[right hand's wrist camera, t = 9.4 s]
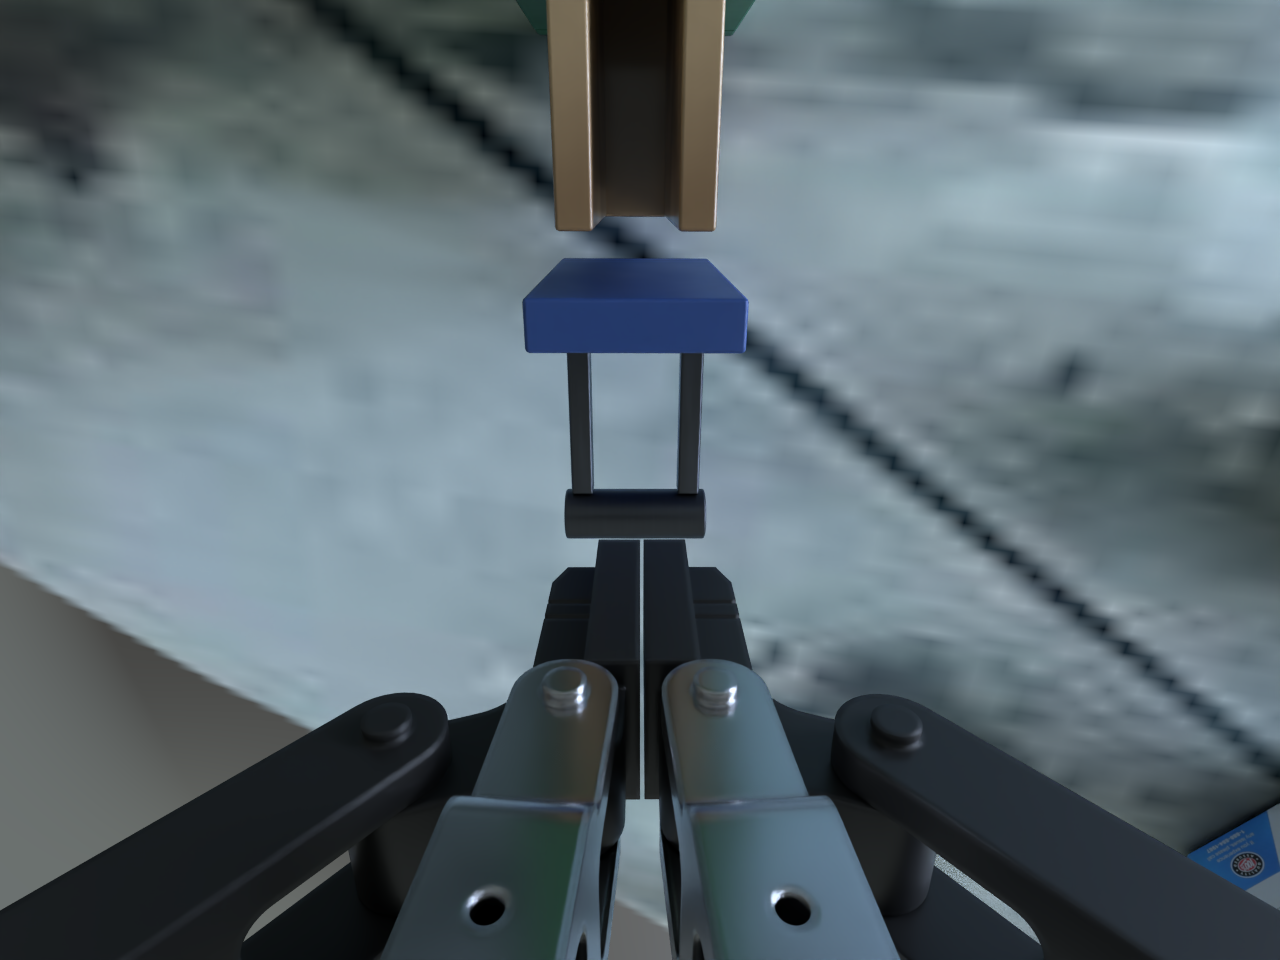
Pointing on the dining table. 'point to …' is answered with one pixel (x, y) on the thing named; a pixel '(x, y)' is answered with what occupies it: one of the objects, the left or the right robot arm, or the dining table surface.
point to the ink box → (1248, 856)
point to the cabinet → (535, 11)
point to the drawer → (635, 187)
